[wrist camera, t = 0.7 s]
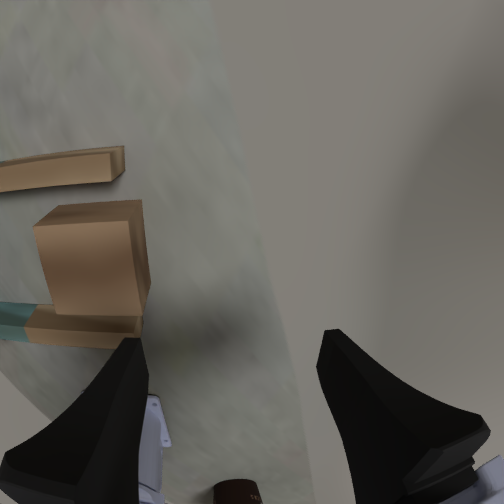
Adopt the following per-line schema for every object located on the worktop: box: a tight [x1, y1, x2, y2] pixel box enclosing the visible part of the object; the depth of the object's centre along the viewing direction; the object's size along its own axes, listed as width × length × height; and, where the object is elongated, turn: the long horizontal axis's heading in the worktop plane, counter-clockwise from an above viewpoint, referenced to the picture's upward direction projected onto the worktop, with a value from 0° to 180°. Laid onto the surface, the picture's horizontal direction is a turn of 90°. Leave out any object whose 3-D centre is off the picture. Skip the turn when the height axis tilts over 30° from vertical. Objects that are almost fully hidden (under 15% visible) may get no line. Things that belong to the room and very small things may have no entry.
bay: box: [0, 146, 143, 349], centre depth 16 cm, size 17×14×6 cm
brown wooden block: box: [33, 200, 151, 316], centre depth 18 cm, size 6×6×4 cm
